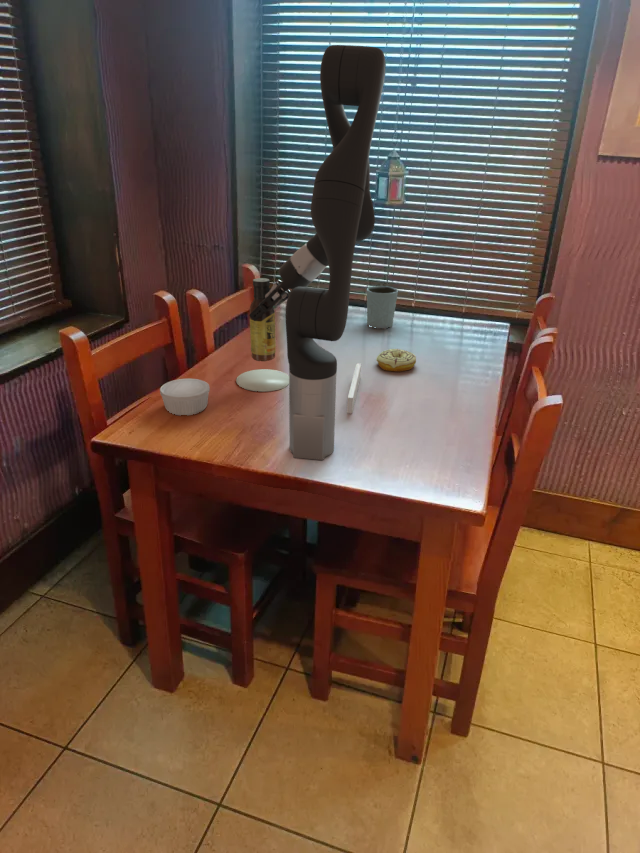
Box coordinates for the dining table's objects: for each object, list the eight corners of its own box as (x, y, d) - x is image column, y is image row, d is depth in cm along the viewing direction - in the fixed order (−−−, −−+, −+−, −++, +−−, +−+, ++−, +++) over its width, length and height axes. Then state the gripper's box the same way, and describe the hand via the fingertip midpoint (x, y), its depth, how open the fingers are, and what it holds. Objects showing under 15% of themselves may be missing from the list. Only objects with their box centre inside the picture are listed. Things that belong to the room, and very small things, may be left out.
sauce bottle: (272, 363, 149) (269, 284, 139) (248, 361, 150) (244, 282, 140) (279, 354, 154) (277, 277, 145) (255, 352, 155) (252, 275, 146)
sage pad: (284, 393, 148) (284, 392, 148) (229, 389, 150) (229, 387, 149) (295, 372, 160) (295, 371, 160) (244, 368, 162) (244, 367, 162)
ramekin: (159, 401, 143) (156, 381, 140) (205, 395, 146) (204, 375, 144) (165, 421, 133) (163, 400, 131) (215, 414, 137) (213, 393, 135)
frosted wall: (352, 413, 139) (352, 397, 137) (347, 413, 139) (347, 397, 137) (360, 377, 158) (361, 363, 156) (355, 377, 158) (356, 363, 156)
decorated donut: (368, 364, 167) (369, 352, 165) (396, 357, 173) (397, 344, 171) (395, 376, 160) (396, 363, 158) (422, 367, 166) (424, 355, 164)
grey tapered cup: (361, 327, 196) (363, 291, 191) (368, 319, 205) (370, 284, 199) (392, 331, 194) (395, 294, 188) (397, 322, 202) (400, 287, 197)
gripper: (297, 249, 145) (251, 295, 152) (285, 262, 133) (236, 311, 140) (318, 272, 147) (272, 316, 154) (309, 287, 135) (259, 334, 142)
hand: (255, 314), depth 147 cm, fingers closed on sauce bottle, 6 cm apart
